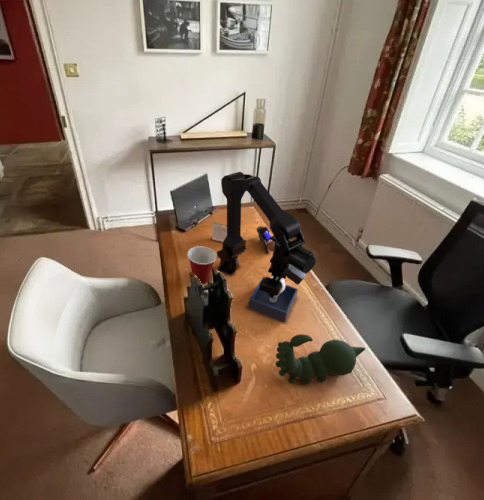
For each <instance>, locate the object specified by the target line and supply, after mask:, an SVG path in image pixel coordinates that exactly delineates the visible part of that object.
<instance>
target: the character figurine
mask: <svg viewBox="0 0 484 500" xmlns="http://www.w3.org/2000/svg"><path fill="white" fill-rule="evenodd" d="M256 232H257V234H258V238H259V242H260V243H261V245H262V247H263V249H264V251H265V252H266V254H269V251H270V252H273V250H274V245H275V242H274V241H272V240H271V239H270V237H272V236H271V235H272V234H271V233H270V232H271V230H270V228H268V227H267V226H258V227H256Z"/></svg>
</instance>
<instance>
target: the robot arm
mask: <svg viewBox="0 0 484 500" xmlns="http://www.w3.org/2000/svg"><path fill="white" fill-rule="evenodd" d="M220 183H221V184H220V185H221V192H222V194H223V196H224V197H225V199H226V224H227V227H226V228H227V236H226V238H225V240H224V241H223V242H222V248H221V249H220V250H217V251H216V254H217V258H218V259H219V261H220V262H219V267H217V270H218V271H221V272H223V273H226V274H229V275H231V276H233V275H234V274H235V272H237V270H238V269H239V267H240V265H239V264H240V259H239V256H241V255H243V254H244V253H245V251H247V246H246V245H247V240H246V239H244V238H243V237H242V234H241V232H242V230H241V229H242V227H241V226H242V225H241V224H242V199H243V197H244V195H245V193H246V192H247V193H248V194H249V196H250V197H251V198H252V199H253V200H254V202H255V203H256V205H257V206H258V207H259V210H261V211H262V213H263V214H264V216H265V217H266V218H267V220H268V222H269V230H270V232H271V233H272V234H273V235H272V236H271V237H270V239H271V240H272V241H274V242H275V245H274V250H273V251H272V256H271V257H270V259H269V263H270V266H269V268H268V273H270V276H264V277H265V278H264V279H263V280H262V282H261V283H260V282H259V283H260V287H259V289H260V290H262V291H264V292H267V293H268V294H269V296H270V297H271V298H273V297H274V295H275V296H277V295H278V294H279V293H280V291H281V289H282V287H283V286H282V283H281V282H280V280H281V278H283V279H284V280H286V279H289V280H290V281H292V282H293V283H294V284H295V285H300V284H301V283H302V282H303V280H305V278H306V276H307V274H308V273H309V272H311V270H312V269H313V268H314V267H315V265H316V262H317V258H316V256H315V253H314V252H313V251H311V250H309V249H307V248H305V247H304V246H303V245H304V244H306V240H305V237H304V234H303V231H302V226H301V224H300V222H299V221H298V220H297V218H295V217H294V216H293V215H292V214H291V213H289V212H287V211H285V210H284V209H282V208H281V206H280V205H279V203H277V201H276V199H274V197H273V196H272V195H271V194H270V192H269V190H268V189H267V188H266V187H265V186H264V184H263V183H262V180H261V178H260V177H259V176H256V175H253V174H247V173H243V172H242V171H237V172H233V173H230V174H227V175H226V174H225V175H223V177H221V181H220ZM294 238H296V239H294ZM292 239H294V240H292ZM272 276H274V277H273V278H270V277H272ZM277 278H278V279H277Z"/></svg>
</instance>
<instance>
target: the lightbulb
mask: <svg viewBox="0 0 484 500" xmlns="http://www.w3.org/2000/svg"><path fill="white" fill-rule="evenodd" d="M273 277H274V276H269V278H273ZM277 279H278V278H277ZM280 282H281V283H282V286H283V287H282V289H281V291H280V293H279V294H281V293H282V292H283V291H284V290H285V287H286V285H287V284H286V280H285V279H284V278H281V280H280ZM279 294H278V295H277V296H275V295H274V297H273V298H271V297H269V301H270V302H272V303H275V302H276V301H277V297H278V296H279Z"/></svg>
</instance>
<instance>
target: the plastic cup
mask: <svg viewBox="0 0 484 500" xmlns="http://www.w3.org/2000/svg"><path fill="white" fill-rule="evenodd" d="M186 255H187V258H188V261H189V265H190V270H191V274H192V273H194V274H195V275H196V276H197V277H198V278H199V279H200V281H201V283H202V285H204V284H206V283H208V282H209V280H210V277H211V274H212V270H213V266H214V263H215V261H217V258H218V256H217V251H215V250H214V249H213V248H211V247H208V246H203V245H202V246H201V245H197V246H193V247H191V248H189V249H188V251H187V254H186Z"/></svg>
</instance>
